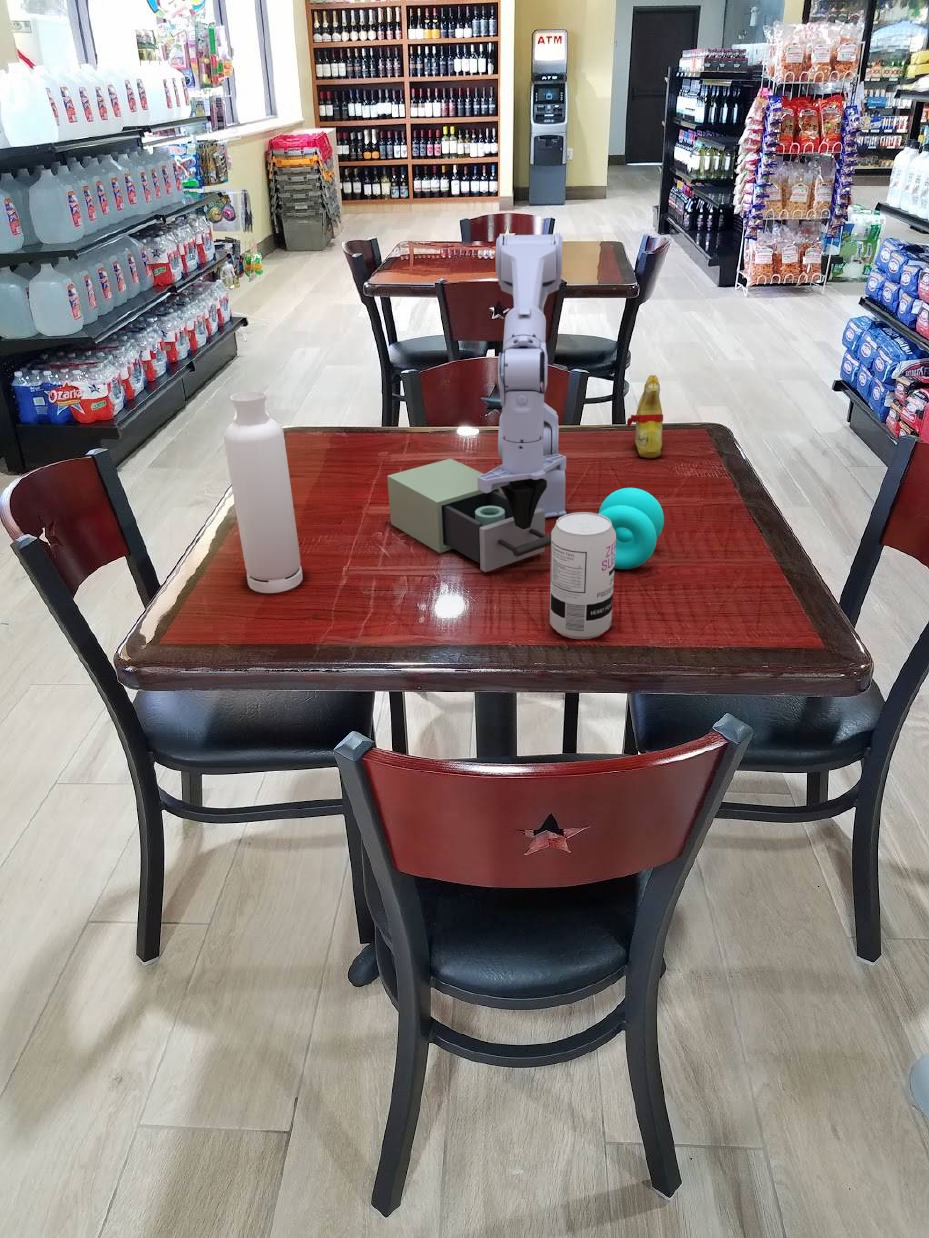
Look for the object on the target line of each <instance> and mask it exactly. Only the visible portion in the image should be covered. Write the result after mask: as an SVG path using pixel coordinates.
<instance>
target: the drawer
mask: <svg viewBox="0 0 929 1238" xmlns="http://www.w3.org/2000/svg"><path fill="white" fill-rule="evenodd" d="M483 506H497V507H501V508H503V509H504V510H505V520H502V521H499V522H495V523H492V524H489V525H486V526H483V527H482V523H480V522H479V521H477V520H475V511H476V510H477V509H478V508H480V507H483ZM442 526H443V542H444V543H445V544H447V545H449V546H450V547H452V548H454V550H455V551H457V552H459V553H461V554H462V555H464V556H466V557H468V558H469V559H471V560H472V561H474V562H475V563H478V564H480V571H482V572H484V573H487V572H490V571H493V570H496V569H499V568H500V567H503V566H506V565H510V564H512V563H515V562H518V561H521V560H524V559H526V558H527V559H528V558H529V557H532V556H535V555H538V554H540V553H544V552H545V550H546V549H545V548H547V547H549V546H551V534H549V535H547V534H546V518H545V510H543V509H541V508H539V509H536V510H535V512H534V516H533V519H532V523H531V527H530V528H527V529H521V528H519V527H517V526H515V522H514V518H513V514H512V511H511V508H510V505H509V503H508V500H507V498H506V496H505V494H504V493H503V494H501V493H499V492H497V491H495V490H492V491H491V492H489V493H482V494H479V495H475V496H472V497H469V498H466V499H462V500H459V501H456V502H452V503H449V504H446V505H442Z"/></svg>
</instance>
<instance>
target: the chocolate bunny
mask: <svg viewBox="0 0 929 1238" xmlns="http://www.w3.org/2000/svg"><path fill="white" fill-rule="evenodd" d="M659 381H660V380H659V378H658V376H657V375H655V374H650V375H649V376H648V377H647V379H646V381H645V384H644V387H643V393H642V394H641V396H640V398H639V401H638V405H637V409H636V414H631V415H630V417H628V419H627V420H626V425H627V427H628V428H627V429H629V428H630V427H631V425H632V423H633V424H634V423H635V437H634V439H635V440H634V442H635V446H636V450H637V452H638V455H639V457H641V458H644V459H655V458H658V457H660V456H661V454H662V450H661V449H662V446H663V422H664V414H663V408H662V404H661V398H660V393H661V385H660V382H659Z"/></svg>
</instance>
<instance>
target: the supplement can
mask: <svg viewBox="0 0 929 1238" xmlns="http://www.w3.org/2000/svg"><path fill="white" fill-rule="evenodd" d="M550 535H551V545H550V582H549V583H550V586H549V588H550V591H549V594H550V596H549V624H550V626H551V627H552V628H553V630H555V631H556V633H558V634H559V635H561V636H563V637H566V638H569V639H575V640H590V639H593V638H597V637H600V636H602V635H603V634H605V632H607V631H608V630H609V629H610V627H611V626H612V621H613V620H612V619H613V601H614V585H615V584H614V583H615V582H614V581H615V568H614V567H615V549H616V532H615V530H614V528H613V526H612V523H611V521H610V520H609V519H608V518H607V517H605V516H603V515H600V514H599V513H596V512H589V511H587V512H586V511H581V512H580V511H579V512H577V511H576V512H571V513H566V515H562V516H559V517H558V519H556V522H555V525H554V527H553V528H552V530H551V533H550Z"/></svg>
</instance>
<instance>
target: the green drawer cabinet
mask: <svg viewBox="0 0 929 1238" xmlns="http://www.w3.org/2000/svg"><path fill="white" fill-rule="evenodd" d="M484 474H485V473H483V472H481V471H479V470H476V469H474V468H472V467H470V466H468V465H465V464H463V463H461V462H459V461H457V460H455V459H453V458H447V459H443V460H441V461H440V460H439V461H435V462H433V463H429V464H425V465H421V466H416V467H413V468H410V469H406V470H402V471H400V472H396V473H391V474H388V475H386V477H387V490H388V503H389V504H388V505H389V515H390V516H389V517H390V518H389V519H390V525H391V526H394V527H396V528H397V529H399V531H402V532H403V533H405V534H407V535H409V536H410V537H412V538H414V539H415V540H417V541H419V542H420V543H421V544H423V545H425V546H427V547H428V548H430V549H432V550H433V551H435V552H437V553H439V554H442V553H445V552H447V551H450V550H453V549H454V548H452V547H450V546H449V545H447V544H445V543H444V542H443V526H442V505H446V504H449V503H452V502H456V501H459V500H462V499H466V498H469V497H472V496H475V495H479V494H482V493H484V492H482V491H480V490H478V478H477V477H478V476H481V475H484ZM492 490H495V491H497V492H499V493H501V494H503V495H504V493H503V491H502V489H501V488H500V487H498V488H495V489H492ZM454 550H455V549H454Z"/></svg>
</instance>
